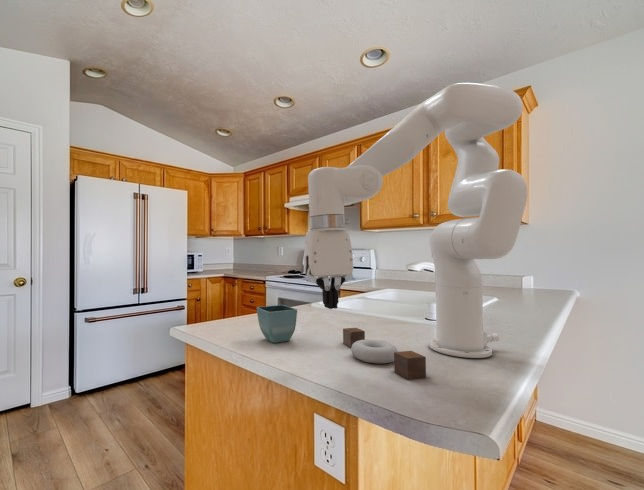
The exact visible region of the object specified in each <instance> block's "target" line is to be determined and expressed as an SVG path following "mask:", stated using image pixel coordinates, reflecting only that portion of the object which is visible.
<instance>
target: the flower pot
mask: <svg viewBox="0 0 644 490" xmlns="http://www.w3.org/2000/svg"><path fill="white" fill-rule="evenodd" d="M256 315H257V321H258V326H259V329H260V331H261V333H262V335H263V337H264V338H265V339H266V340H267V341H269V342H271V343H272V344H275V343H282V342H289V341H290V340H291V338H292V337H293V335H294V333H295V331H296V327H297V318H298V309H297V308H294V307H291V306H288V305H285V304H276V305H275V304H274V305H266V306H257V307H256Z"/></svg>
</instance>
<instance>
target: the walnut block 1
mask: <svg viewBox="0 0 644 490" xmlns="http://www.w3.org/2000/svg"><path fill="white" fill-rule="evenodd" d="M365 332H366V331H365V330H363V329H361V328H359V327H347V328H342V341H343V342H342V344H343V345H345V346H347V347H349V348H350V349H351V347H352V345H353V343H354V342H356V341H359V340H365V339H366V333H365Z"/></svg>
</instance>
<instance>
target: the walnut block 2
mask: <svg viewBox="0 0 644 490" xmlns="http://www.w3.org/2000/svg"><path fill="white" fill-rule="evenodd" d="M393 369H394V371H393V372H394V373H395V374H397V375H400V377H402V378H404V379H406V380H417V379H425V378H427V357H426V356H425V355H422V354H421V353H418V352H415V351H413V350H402V351H398V352H394V361H393Z"/></svg>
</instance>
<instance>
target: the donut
mask: <svg viewBox="0 0 644 490" xmlns="http://www.w3.org/2000/svg"><path fill="white" fill-rule="evenodd" d="M350 351H351V352H350V353H351V354H352V355H353V356H354V358H355V359H357V360H359V361H362V362H364V363H369V364H377V365H378V364H379V365H382V364H383V365H385V364H389V363H392V362H393V363H394V352H399V351H398V348H397V346H395V345H394V344H393V343H391V342H388V341H385V340H381V339H373V338H371V339H367V338H365V340H359V341H356V342H354V343H353V345H352V347H351V348H350Z"/></svg>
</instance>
